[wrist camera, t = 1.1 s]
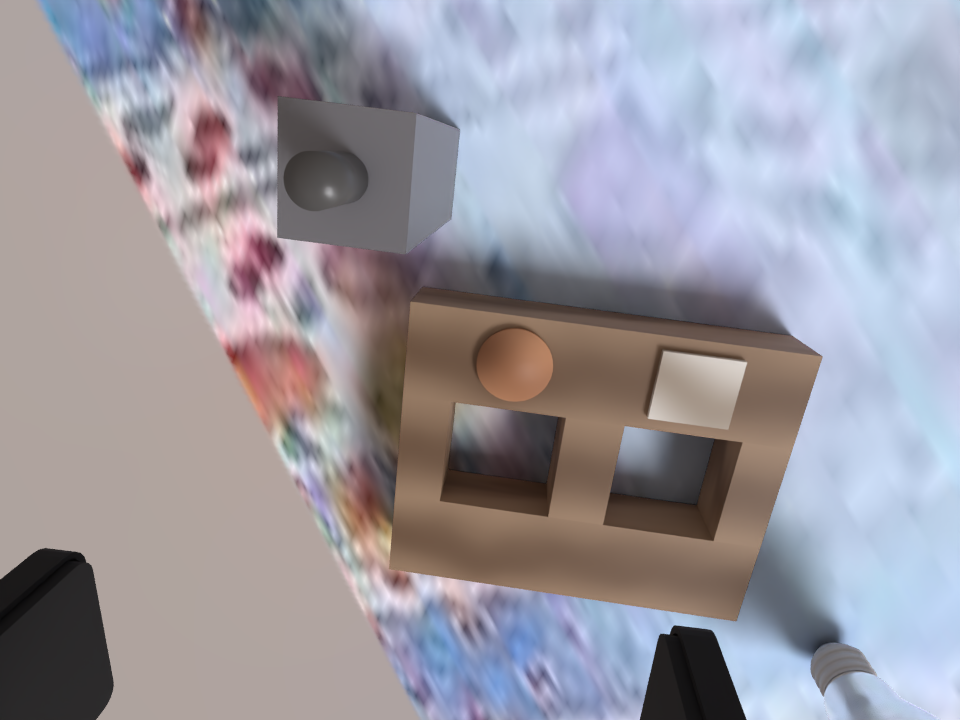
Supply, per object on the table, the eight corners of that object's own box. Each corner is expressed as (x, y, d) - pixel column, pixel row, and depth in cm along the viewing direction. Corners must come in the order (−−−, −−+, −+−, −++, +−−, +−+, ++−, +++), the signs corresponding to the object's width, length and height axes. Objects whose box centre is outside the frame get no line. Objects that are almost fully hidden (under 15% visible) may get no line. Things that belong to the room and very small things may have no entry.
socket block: (422, 286, 32) (409, 302, 29) (792, 335, 32) (825, 358, 28) (401, 532, 38) (388, 572, 34) (717, 579, 37) (737, 625, 33)
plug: (373, 118, 30) (232, 85, 16) (460, 129, 30) (395, 104, 16) (368, 208, 31) (235, 251, 17) (451, 219, 31) (385, 270, 17)
